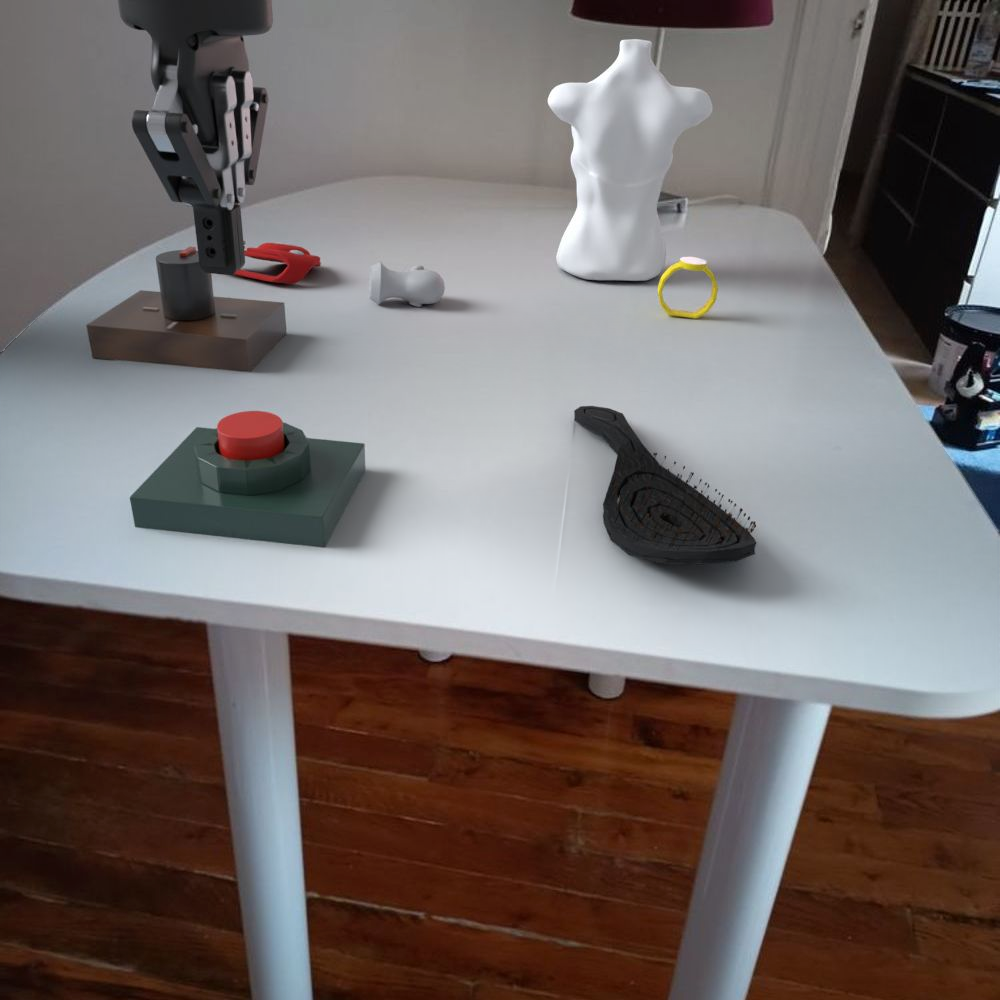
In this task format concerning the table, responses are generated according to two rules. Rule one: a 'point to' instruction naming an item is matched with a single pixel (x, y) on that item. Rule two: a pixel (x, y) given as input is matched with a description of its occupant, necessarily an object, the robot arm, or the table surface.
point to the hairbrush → (661, 504)
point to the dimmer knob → (184, 286)
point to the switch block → (252, 490)
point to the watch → (694, 265)
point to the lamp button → (250, 435)
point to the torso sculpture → (622, 163)
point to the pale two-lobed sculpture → (405, 285)
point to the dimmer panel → (188, 333)
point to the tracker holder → (282, 261)
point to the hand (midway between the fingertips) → (223, 270)
